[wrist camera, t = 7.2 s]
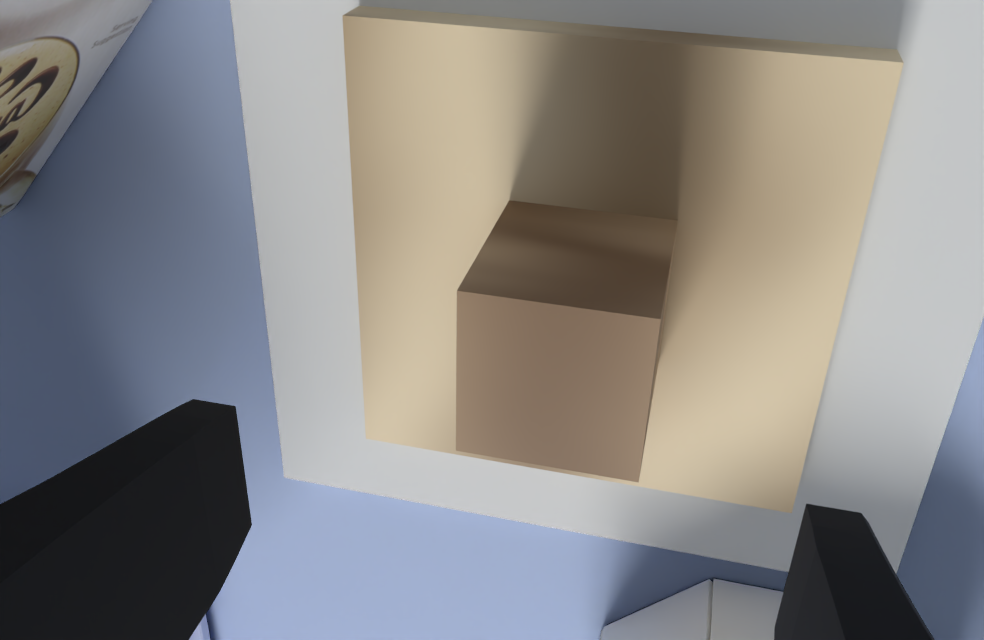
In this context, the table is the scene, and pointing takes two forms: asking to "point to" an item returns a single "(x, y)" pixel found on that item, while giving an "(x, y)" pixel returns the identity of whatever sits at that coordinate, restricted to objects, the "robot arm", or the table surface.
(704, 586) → the bowl
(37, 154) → the coffee box
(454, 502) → the mat
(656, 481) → the cover
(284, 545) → the table surface
